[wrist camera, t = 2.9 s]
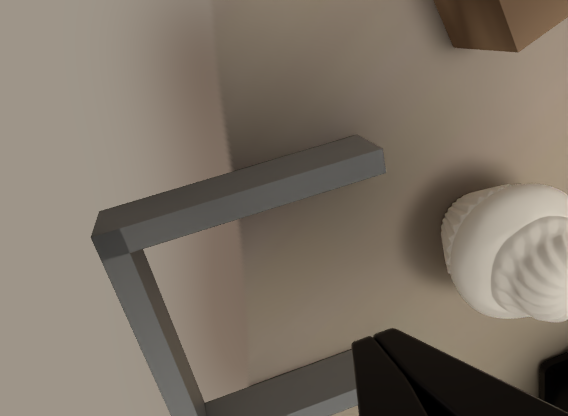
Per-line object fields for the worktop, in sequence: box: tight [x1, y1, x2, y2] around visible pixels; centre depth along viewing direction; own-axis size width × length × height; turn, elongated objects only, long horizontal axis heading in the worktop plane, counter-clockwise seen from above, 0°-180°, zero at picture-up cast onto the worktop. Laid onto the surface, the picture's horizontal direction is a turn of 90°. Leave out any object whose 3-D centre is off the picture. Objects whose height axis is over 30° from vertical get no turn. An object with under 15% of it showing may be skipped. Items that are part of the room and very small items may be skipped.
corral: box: [91, 135, 386, 416], centre depth 20 cm, size 12×11×2 cm
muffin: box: [441, 183, 568, 322], centre depth 20 cm, size 6×6×7 cm
